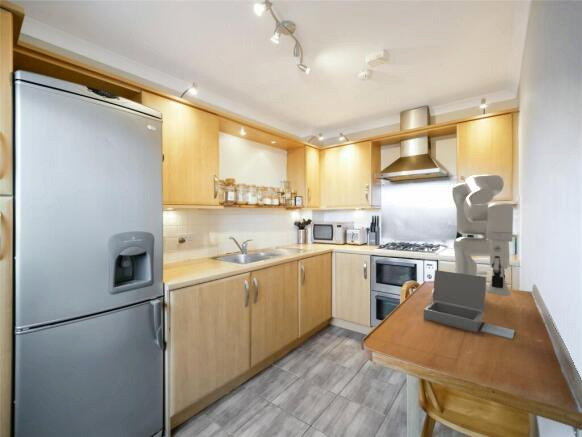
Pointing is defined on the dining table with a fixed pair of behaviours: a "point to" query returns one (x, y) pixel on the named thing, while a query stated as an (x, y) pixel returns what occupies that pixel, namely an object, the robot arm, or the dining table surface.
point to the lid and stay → (459, 289)
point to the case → (454, 315)
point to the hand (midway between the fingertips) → (498, 285)
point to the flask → (499, 291)
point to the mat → (498, 331)
